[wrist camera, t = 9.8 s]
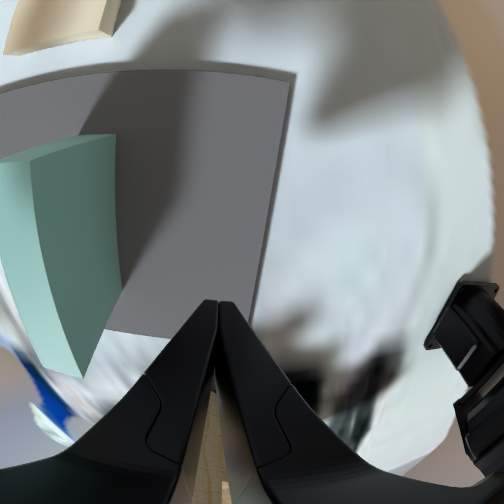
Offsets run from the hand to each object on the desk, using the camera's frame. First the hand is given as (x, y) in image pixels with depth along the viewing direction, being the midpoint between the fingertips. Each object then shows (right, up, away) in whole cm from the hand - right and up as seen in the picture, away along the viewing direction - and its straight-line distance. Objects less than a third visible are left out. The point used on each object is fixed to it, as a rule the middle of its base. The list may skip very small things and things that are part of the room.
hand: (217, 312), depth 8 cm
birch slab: (-8, +15, -1) cm, 17 cm away
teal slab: (-6, +3, +4) cm, 8 cm away
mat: (-6, +3, +5) cm, 9 cm away
